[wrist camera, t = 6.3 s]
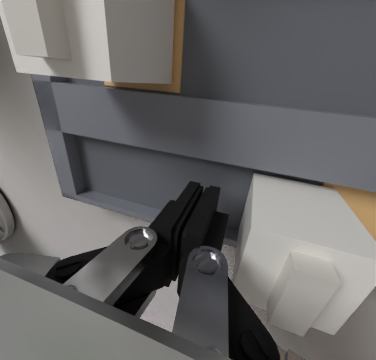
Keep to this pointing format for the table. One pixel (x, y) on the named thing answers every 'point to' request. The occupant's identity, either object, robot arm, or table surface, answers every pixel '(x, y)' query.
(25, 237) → the table surface
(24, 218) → the table surface
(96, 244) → the table surface
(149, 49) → the white stepped block
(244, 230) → the white stepped block
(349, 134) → the switch board
